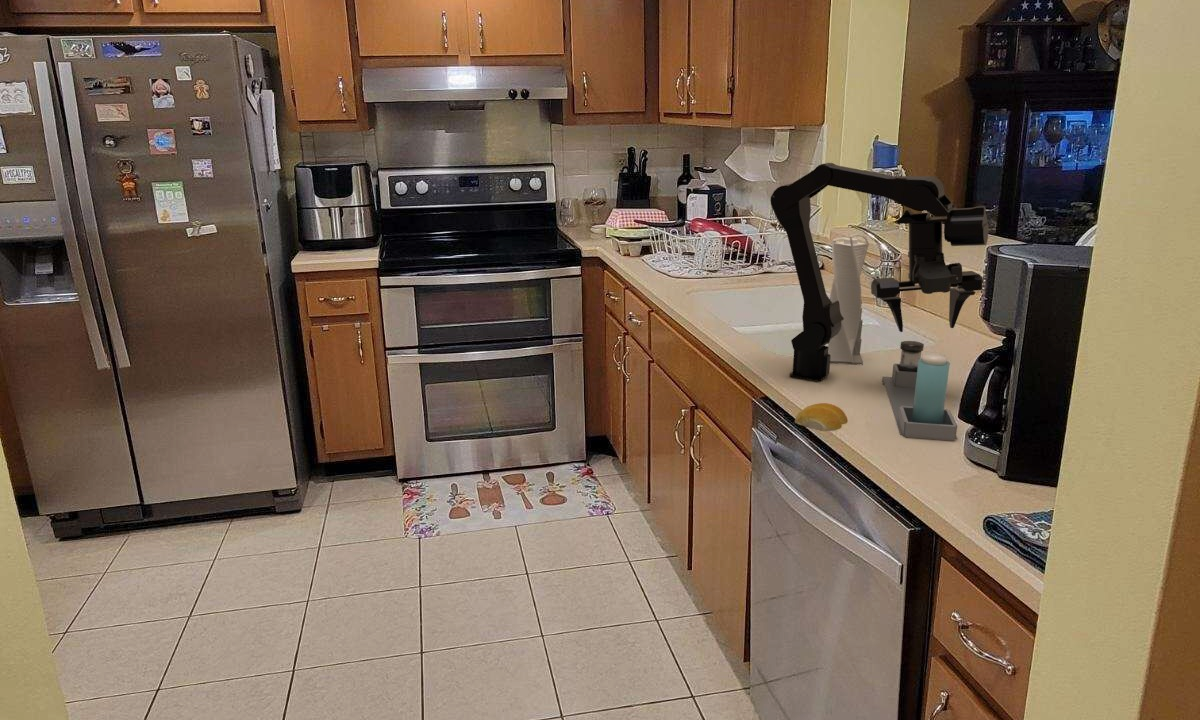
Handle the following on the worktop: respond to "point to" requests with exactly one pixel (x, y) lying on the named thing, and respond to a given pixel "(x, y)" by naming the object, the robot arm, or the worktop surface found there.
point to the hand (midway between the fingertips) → (926, 329)
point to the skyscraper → (847, 298)
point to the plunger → (910, 355)
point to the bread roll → (822, 417)
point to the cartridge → (930, 388)
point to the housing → (902, 406)
